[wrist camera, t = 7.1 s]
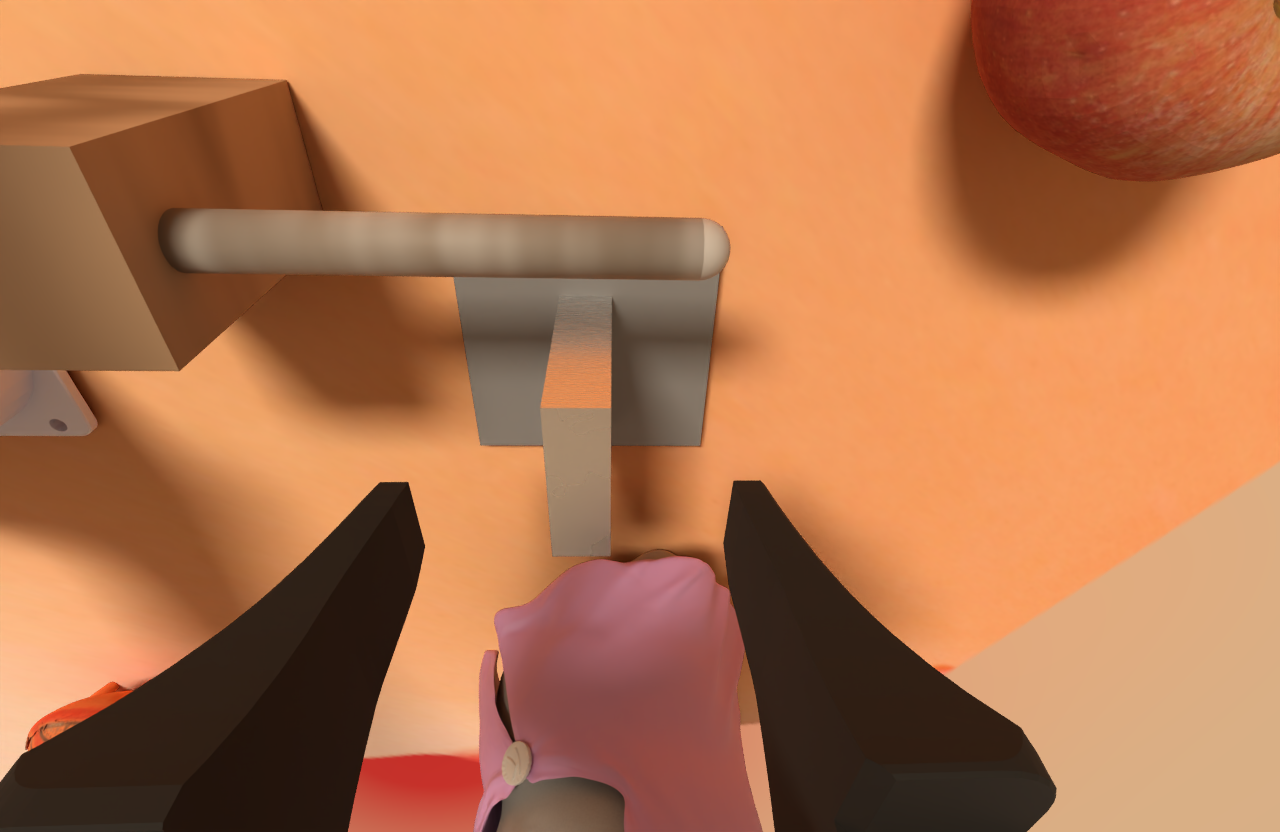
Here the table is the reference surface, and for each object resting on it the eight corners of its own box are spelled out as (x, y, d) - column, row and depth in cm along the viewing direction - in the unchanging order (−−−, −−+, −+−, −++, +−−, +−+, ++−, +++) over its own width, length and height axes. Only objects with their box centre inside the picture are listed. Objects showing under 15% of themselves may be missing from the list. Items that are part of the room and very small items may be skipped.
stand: (151, 233, 17) (-97, 369, 11) (80, 74, 15) (-283, 138, 9) (690, 242, 18) (729, 374, 12) (703, 92, 16) (758, 162, 10)
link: (566, 425, 21) (552, 556, 17) (559, 295, 18) (539, 408, 14) (611, 425, 21) (610, 556, 17) (611, 295, 19) (611, 408, 14)
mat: (482, 438, 22) (480, 445, 22) (448, 220, 17) (445, 225, 17) (698, 439, 22) (700, 445, 22) (722, 226, 18) (724, 230, 17)
